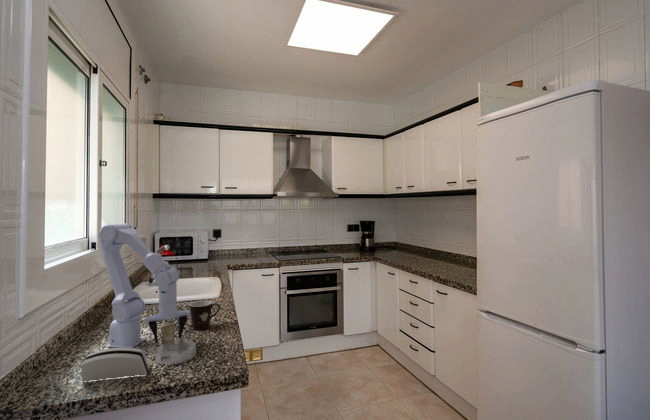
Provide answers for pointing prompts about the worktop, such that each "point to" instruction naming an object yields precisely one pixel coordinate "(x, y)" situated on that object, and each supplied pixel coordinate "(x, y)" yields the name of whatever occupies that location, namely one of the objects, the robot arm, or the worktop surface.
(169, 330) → the tan cylinder
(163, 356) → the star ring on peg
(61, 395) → the worktop surface
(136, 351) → the grey arched block
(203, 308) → the coffee mug
